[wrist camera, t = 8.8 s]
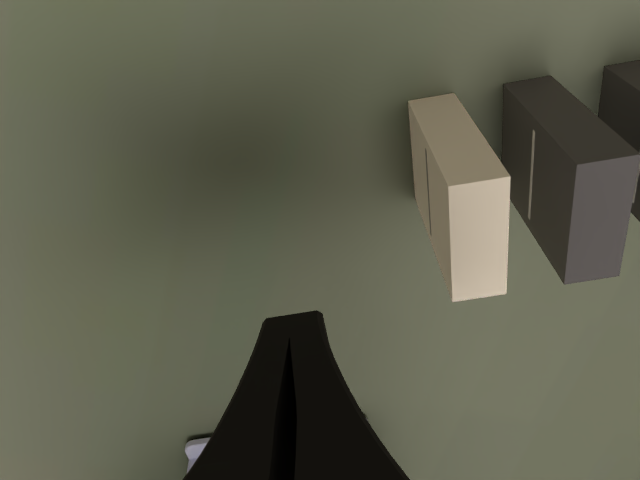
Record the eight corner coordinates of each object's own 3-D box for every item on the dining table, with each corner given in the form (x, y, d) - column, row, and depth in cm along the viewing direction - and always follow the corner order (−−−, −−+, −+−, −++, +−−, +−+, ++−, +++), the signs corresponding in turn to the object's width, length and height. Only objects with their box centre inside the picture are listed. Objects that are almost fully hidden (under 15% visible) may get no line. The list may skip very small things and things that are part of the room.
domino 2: (501, 184, 22) (563, 284, 17) (503, 83, 19) (576, 164, 14) (543, 177, 22) (619, 275, 17) (550, 75, 19) (641, 154, 14)
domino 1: (454, 92, 20) (510, 176, 15) (457, 192, 22) (506, 293, 17) (407, 100, 20) (447, 186, 15) (415, 199, 22) (452, 302, 17)
